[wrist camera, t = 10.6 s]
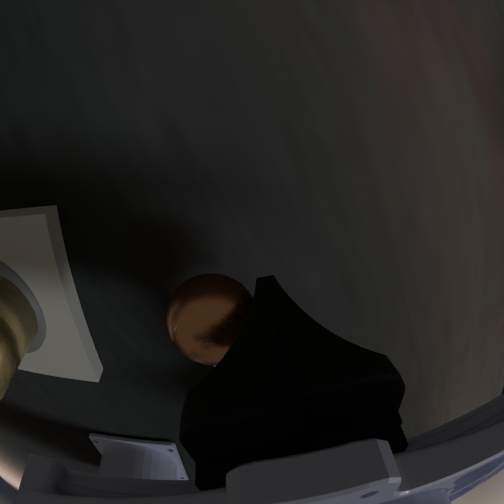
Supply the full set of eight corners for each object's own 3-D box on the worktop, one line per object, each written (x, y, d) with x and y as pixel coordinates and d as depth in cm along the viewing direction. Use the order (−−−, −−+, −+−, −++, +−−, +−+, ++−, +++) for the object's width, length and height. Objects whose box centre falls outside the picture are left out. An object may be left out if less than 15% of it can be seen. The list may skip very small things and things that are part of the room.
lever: (302, 387, 17) (314, 437, 14) (245, 404, 18) (249, 454, 14) (235, 244, 13) (239, 295, 9) (157, 274, 13) (139, 329, 10)
